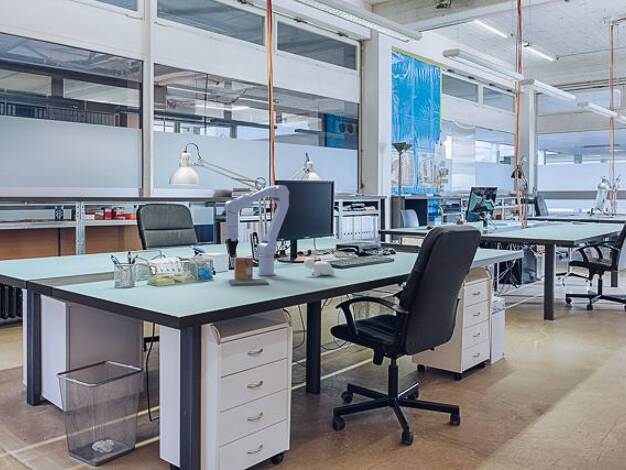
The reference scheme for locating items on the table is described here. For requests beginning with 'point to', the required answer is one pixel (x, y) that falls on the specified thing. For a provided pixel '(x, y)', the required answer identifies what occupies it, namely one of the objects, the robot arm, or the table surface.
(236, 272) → the small box
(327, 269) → the white animal figurine
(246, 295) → the table surface
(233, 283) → the mat
